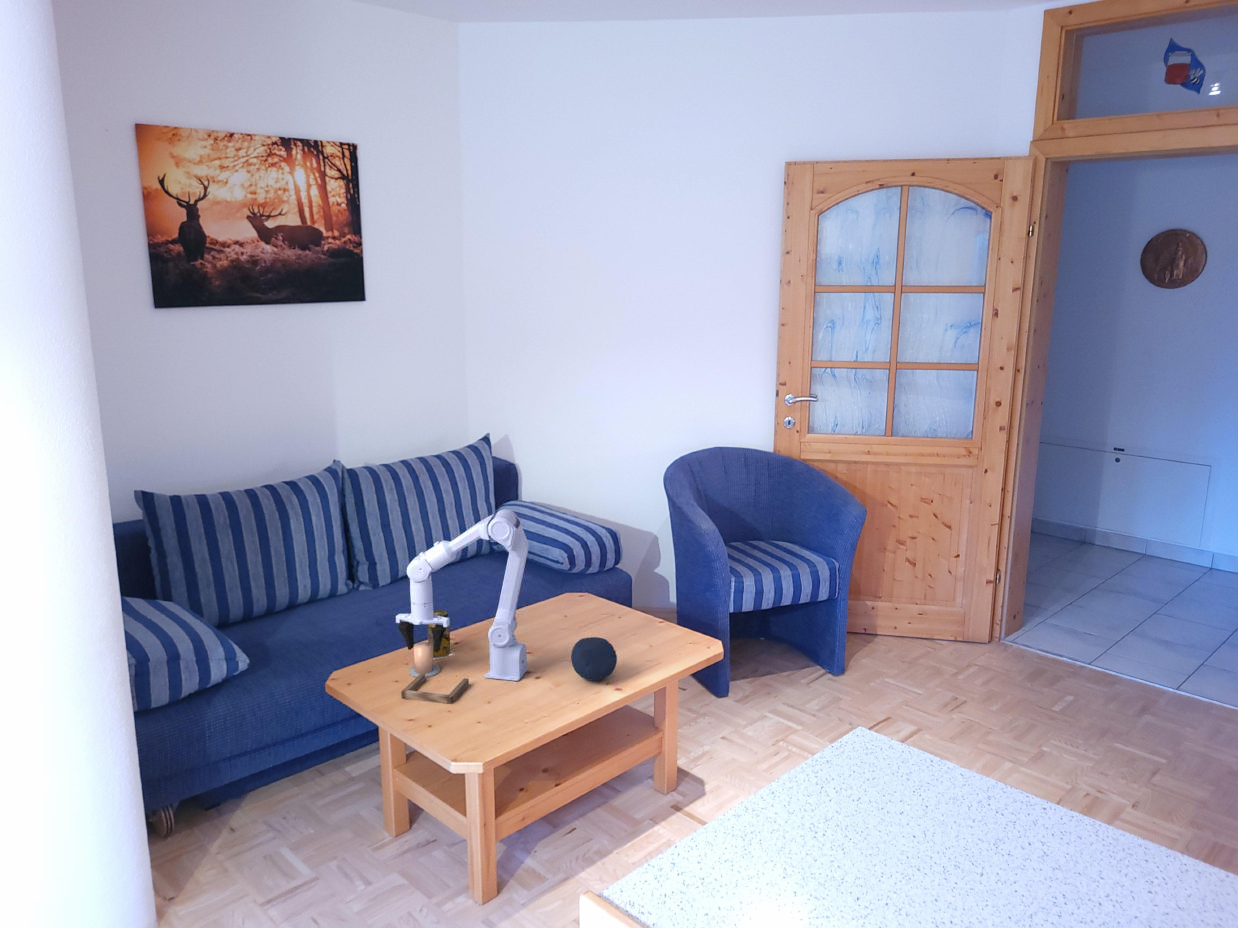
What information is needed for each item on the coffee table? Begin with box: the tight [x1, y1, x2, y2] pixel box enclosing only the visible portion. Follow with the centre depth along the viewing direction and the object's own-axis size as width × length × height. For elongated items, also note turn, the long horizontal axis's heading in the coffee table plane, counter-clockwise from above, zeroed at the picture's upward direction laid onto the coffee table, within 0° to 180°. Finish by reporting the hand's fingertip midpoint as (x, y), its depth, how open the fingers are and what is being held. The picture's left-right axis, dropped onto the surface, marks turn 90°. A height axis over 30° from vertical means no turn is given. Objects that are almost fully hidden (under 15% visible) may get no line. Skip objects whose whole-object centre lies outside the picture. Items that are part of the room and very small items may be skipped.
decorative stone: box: [570, 636, 618, 682], centre depth 246 cm, size 12×12×10 cm
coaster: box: [408, 663, 441, 679], centre depth 250 cm, size 8×8×1 cm
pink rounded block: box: [413, 641, 433, 674], centre depth 250 cm, size 7×5×7 cm
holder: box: [400, 674, 470, 705], centre depth 238 cm, size 13×11×2 cm
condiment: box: [427, 610, 456, 660], centre depth 261 cm, size 7×8×12 cm
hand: (424, 649), depth 249 cm, fingers open, 7 cm apart
